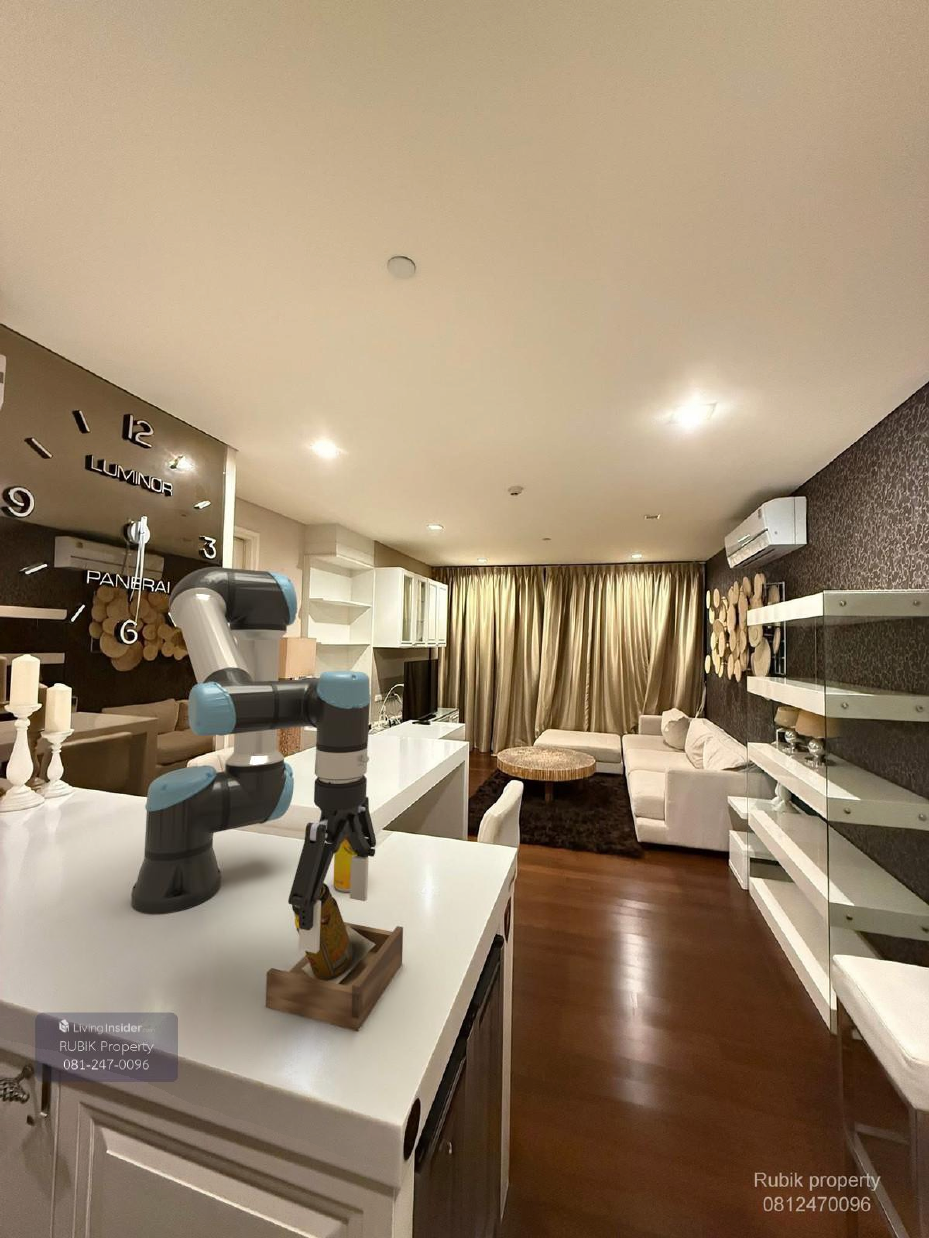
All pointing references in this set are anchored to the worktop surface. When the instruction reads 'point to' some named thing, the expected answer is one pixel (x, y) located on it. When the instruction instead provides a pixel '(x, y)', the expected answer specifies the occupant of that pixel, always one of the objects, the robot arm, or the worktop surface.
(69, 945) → the worktop surface
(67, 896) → the worktop surface
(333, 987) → the wooden serving tray
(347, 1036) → the worktop surface
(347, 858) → the beer can
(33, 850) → the worktop surface
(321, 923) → the condiment
